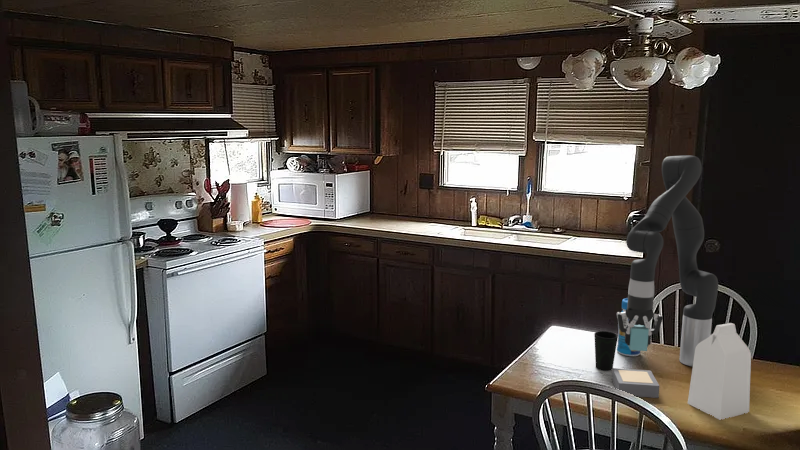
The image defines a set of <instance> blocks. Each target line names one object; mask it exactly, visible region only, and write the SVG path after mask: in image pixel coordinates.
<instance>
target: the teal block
mask: <svg viewBox="0 0 800 450" xmlns="http://www.w3.org/2000/svg"><path fill="white" fill-rule="evenodd" d="M648 333H649V329H646V328H645V326H643V325H634V327H633V328H631V332H630V345H628V347H629V349H630V350H637V351H640V352H648V347H647V345H648ZM648 346H649V345H648Z"/></svg>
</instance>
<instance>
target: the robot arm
mask: <svg viewBox="0 0 800 450" xmlns="http://www.w3.org/2000/svg"><path fill="white" fill-rule="evenodd" d="M702 169H703V168H702V162H701V159H700V158H699V157H698V156H695V155H669V156H666V157H665V158H664V159H663V160H662V162H661V174H662V175H661V176H662V180H663V185H664V188H665V191H664V192H663V193H661V195H659V196H657V198H655V199H654V201H653V202H651V205H650V206H649V208H648V210H647V212H646V214H645V216H644V217H643V218H642V219H641V220H640V221H638V223H636V225H634V226H633V227H632V228H631V230H630V231H629V232H628V234H627V236H626V241H625V242H626V246H627V248H628V250H630V251H632V252H636V253H642V254H646V257H645V258H643V259H642V258H640V259H639V258H638V259H634V260H632V262H631V265H630V277H629V283H628V292H627V293H628V294H627V298H628V303H627V309H626V311H625V312H622V311H621V312H620V311H617V312H616V318H617V323H618V324H617V326H618V325H619V327H618V329H620V331H621V332H624V333H625V343H627V345H630V332H631V328H633V327H634V325H643V326H645V328H646V329H649V333H648V345H647V348H648V347H649V346H650V345H651V343H652V335H654V334H655V335H658V333H659V332H660V329H661V324H662V322H663V319H664V317H663V316H662V315H661V314H660V313H658V314H657V313H654V310H653V309H654V297H655V274H656V267H657V263H658V260H659V257H660V254H661V253H662V250H663V248H664V243H665V242H664V237H663V235H662V234H661V232H663V231H665V229H666V228H667V226H668V224H669V222H670V220H671V221H672V227H673V233H674V238H675V243H676V251H677V256H678V257H677V258H678V271H679V272H678V273H679V274H678V275H679V284H680V288H681V290H682V291H683V293H685V294H687V295H689V296H693V297H695V298H696V299H695V303H693V304H692V303H691V304H687V305H685V306H684V307H683V313H682V322H681V323H682V325H681V333H680V334H681V335H680V336H681V338H680V345H679V346H680V349H679V359H678V360H679V362H680V363H681V364H683V365H686V366H689V367H693V361H694V354H695V348H696V346H697V345H698V344H699V343H700V342H702V341H703V340H705V339H707V338H708V337H710V335H712V325H713V324H712V323H713V314H714V311H715V309H716V304H717V297H718V291H719V281H718V277H717V275H715V274H714V273H710V272H708V271H703V270H700V269H699V268H698V263H697V254H698V251H699V250H700V249H701V246H702V244H703V242H704V240H705V229H704V220H703V218H702V215H701V214H700V212H699V211H698V209H697V208H696V206H694V204H692V203H691V201H690V200H689V199H688V198H687V195H688V194H689V192H690V191H691V190H692V189H693V187H694V186H695V185H696V184H697V183H698V181H699V179H700V177H701V174H702ZM671 218H672V219H671ZM625 316H627V317H628V319H629V321H628V323H627V326H626V328H624V326H623V319H624V317H625ZM652 319H653V321H654V323H653V326H652V328H651V327H650V323H649V322H651V320H652Z"/></svg>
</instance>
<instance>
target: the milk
mask: <svg viewBox="0 0 800 450" xmlns="http://www.w3.org/2000/svg"><path fill="white" fill-rule="evenodd" d="M751 361H752V353H751V350H750V349H749V347H748V345H747V344H746V343H745V342H744V340H743V339H742V338H741V337H740V336H739V334H738V333H737V329H736V325H735V323H732V322H728V323H723V324H717V325H716V326H715V328H714V331H713V333H711V335H710V337H708V338H707V339H705V340H703V341H702V342H700V343H699V344H698V345H697V346H696V348H695V354H694V361H693V366H692V369H691V377H690V384H689V391H688V397H687V405H689V406H691V407H694V408H696V409H698V410H699V409H700V411H701V412H704V414H707V415H709V414H710V416H711V415H712V416H711V417H713V416H714V417H713V418H715V419H717V420H719V421H721V419H722V420H725V418H726V419H729V417H730V418H734V417H737V416H740V415H744V413H745V414H748V412H749V413H750V397H751V396H750V395H751V394H750V393H751V369H752V366H751V365H752V364H751V363H752V362H751Z"/></svg>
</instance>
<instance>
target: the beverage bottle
mask: <svg viewBox="0 0 800 450" xmlns="http://www.w3.org/2000/svg"><path fill="white" fill-rule="evenodd" d="M627 303H628V297H626V298H623V299H622V301H621V312H625V311H626V309H627ZM628 321H629V319H628V317H627V316H625V317H624V319H623V326H624V328H626V326H627V323H628ZM617 328H618V333H617V335H618V339H617V345H616V352H617V353H618V354H619V355H622V356H625V357H637V356H639V355H641V351H637V350H630V349H629V347H628V345H627V343H625V333H624V332H621V331H620V329H619V325H618V324H617Z"/></svg>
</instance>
